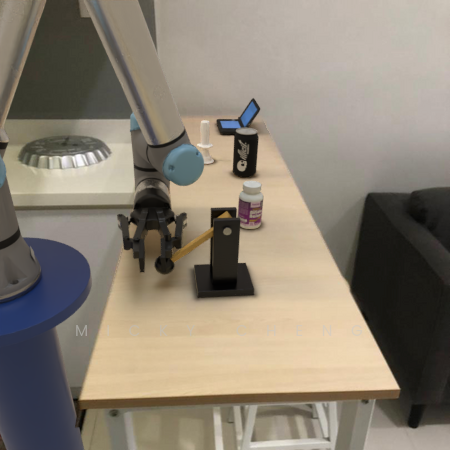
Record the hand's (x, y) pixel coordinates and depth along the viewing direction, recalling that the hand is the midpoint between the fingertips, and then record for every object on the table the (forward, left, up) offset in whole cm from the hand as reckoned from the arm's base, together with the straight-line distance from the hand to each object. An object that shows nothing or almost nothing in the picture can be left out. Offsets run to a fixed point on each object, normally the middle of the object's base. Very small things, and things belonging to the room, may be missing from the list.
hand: (152, 265), depth 75 cm
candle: (+15, +70, -8) cm, 73 cm away
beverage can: (+25, +59, -8) cm, 65 cm away
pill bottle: (+21, +28, -8) cm, 36 cm away
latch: (+8, +5, -1) cm, 10 cm away
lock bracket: (+12, +5, -8) cm, 16 cm away
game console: (+30, +104, -8) cm, 108 cm away
